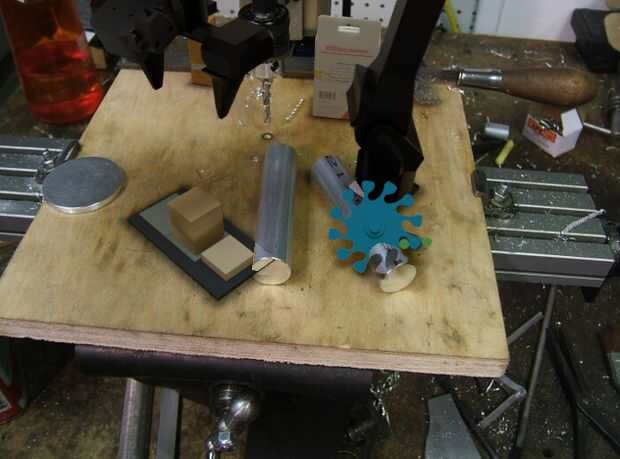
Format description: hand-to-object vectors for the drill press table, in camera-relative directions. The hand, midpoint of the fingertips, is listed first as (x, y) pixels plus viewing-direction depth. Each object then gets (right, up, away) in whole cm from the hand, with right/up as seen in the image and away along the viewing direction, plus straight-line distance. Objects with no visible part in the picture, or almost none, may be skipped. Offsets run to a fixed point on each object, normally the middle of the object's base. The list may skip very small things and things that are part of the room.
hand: (189, 102), depth 60 cm
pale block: (+1, -14, +2) cm, 14 cm away
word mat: (+1, -15, +2) cm, 15 cm away
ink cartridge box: (+18, +4, +22) cm, 28 cm away
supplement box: (-3, +9, +26) cm, 28 cm away
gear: (+20, -16, +2) cm, 26 cm away
